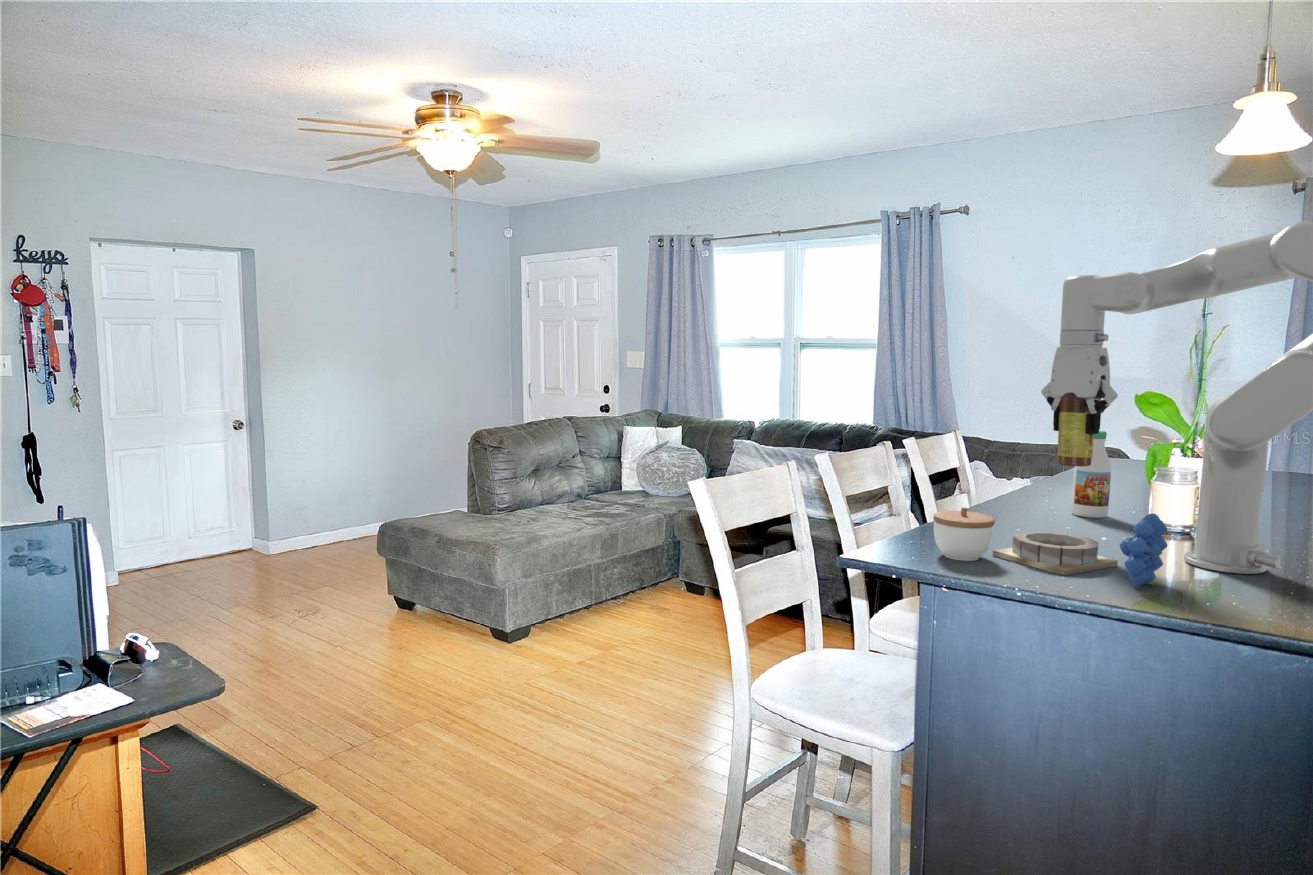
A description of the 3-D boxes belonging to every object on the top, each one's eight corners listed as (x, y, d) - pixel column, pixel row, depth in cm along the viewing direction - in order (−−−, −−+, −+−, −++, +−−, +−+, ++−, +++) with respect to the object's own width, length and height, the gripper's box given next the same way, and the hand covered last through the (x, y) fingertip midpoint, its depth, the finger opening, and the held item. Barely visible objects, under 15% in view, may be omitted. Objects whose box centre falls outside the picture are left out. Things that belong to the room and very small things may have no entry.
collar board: (1117, 565, 155) (1119, 544, 154) (1063, 575, 148) (1065, 553, 147) (1045, 547, 168) (1046, 527, 167) (992, 555, 161) (993, 534, 160)
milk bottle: (1063, 512, 203) (1069, 429, 200) (1089, 511, 205) (1095, 428, 203) (1088, 519, 195) (1095, 432, 193) (1115, 517, 198) (1122, 432, 195)
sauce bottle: (1096, 468, 164) (1102, 364, 162) (1061, 467, 165) (1067, 364, 163) (1086, 463, 170) (1092, 363, 168) (1052, 462, 172) (1058, 363, 169)
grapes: (1130, 573, 150) (1136, 506, 149) (1172, 581, 145) (1179, 512, 144) (1101, 584, 143) (1107, 514, 141) (1145, 594, 138) (1151, 521, 136)
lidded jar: (961, 547, 167) (964, 500, 165) (1005, 561, 157) (1008, 511, 156) (919, 552, 162) (921, 504, 161) (961, 567, 152) (964, 515, 151)
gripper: (1136, 340, 159) (1129, 435, 161) (1054, 340, 175) (1049, 427, 177) (1111, 340, 156) (1105, 437, 158) (1029, 340, 171) (1025, 429, 173)
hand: (1075, 431), depth 167 cm, fingers closed on sauce bottle, 6 cm apart
